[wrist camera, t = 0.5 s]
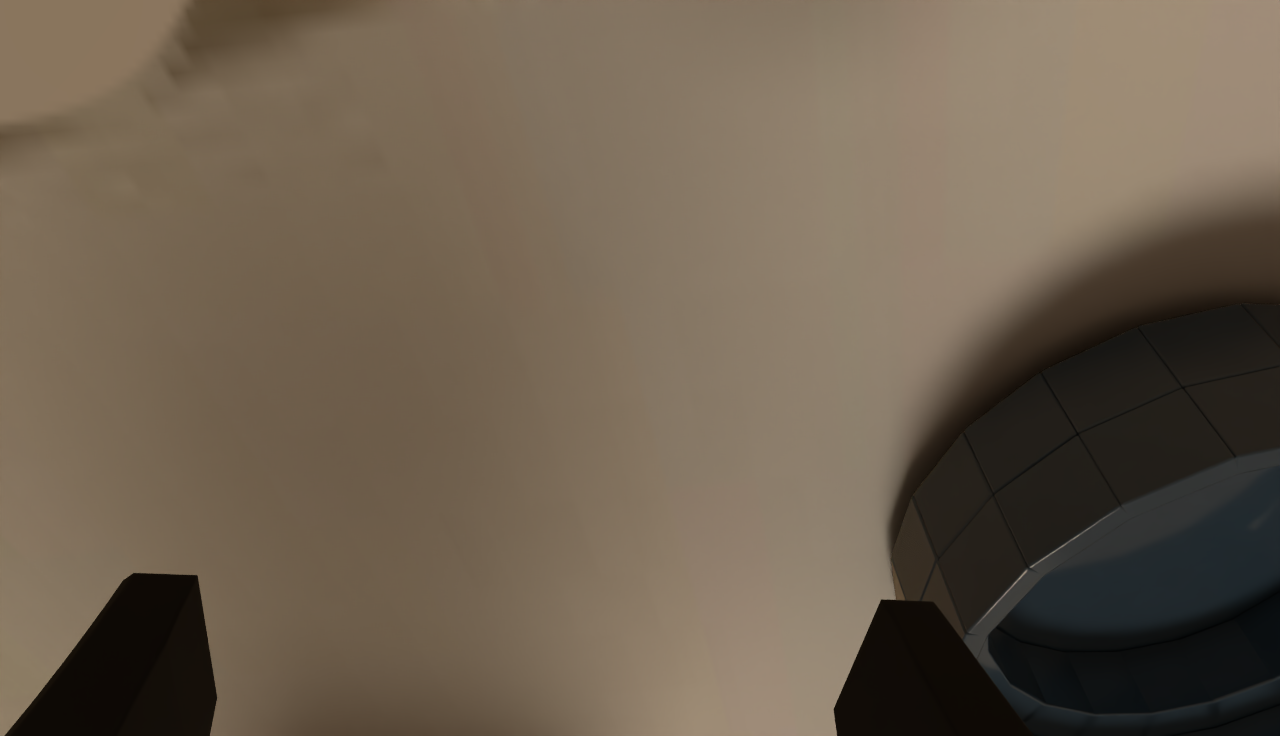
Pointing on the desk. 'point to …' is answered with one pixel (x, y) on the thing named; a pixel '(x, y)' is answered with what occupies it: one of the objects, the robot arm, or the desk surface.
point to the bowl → (1120, 534)
